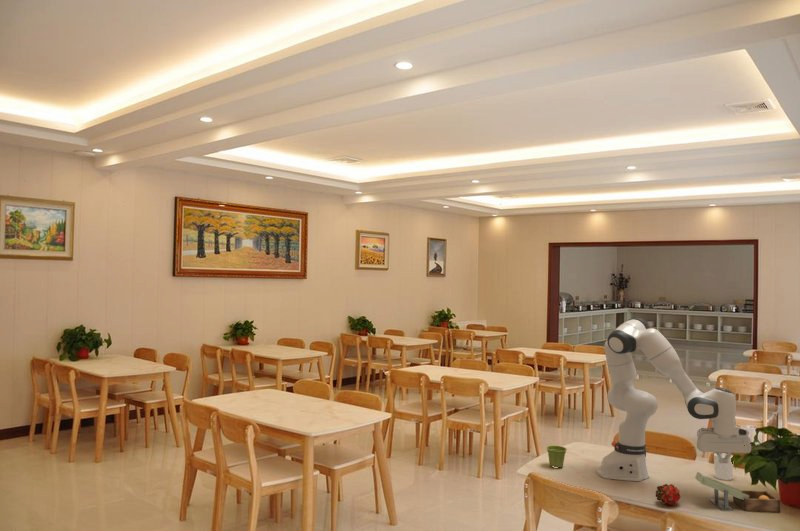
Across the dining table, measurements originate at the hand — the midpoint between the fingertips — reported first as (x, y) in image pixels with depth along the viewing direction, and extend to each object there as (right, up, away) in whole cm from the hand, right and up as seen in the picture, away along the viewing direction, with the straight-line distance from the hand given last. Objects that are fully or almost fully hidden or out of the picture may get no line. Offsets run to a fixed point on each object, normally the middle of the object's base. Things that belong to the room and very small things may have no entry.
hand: (723, 462), depth 247 cm
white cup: (+14, -15, +26) cm, 33 cm away
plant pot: (-57, -15, +40) cm, 72 cm away
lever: (-5, -8, -4) cm, 11 cm away
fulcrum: (-5, -14, -8) cm, 17 cm away
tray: (+8, -14, -9) cm, 19 cm away
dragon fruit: (-25, -14, -6) cm, 30 cm away
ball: (+11, -12, -9) cm, 19 cm away
